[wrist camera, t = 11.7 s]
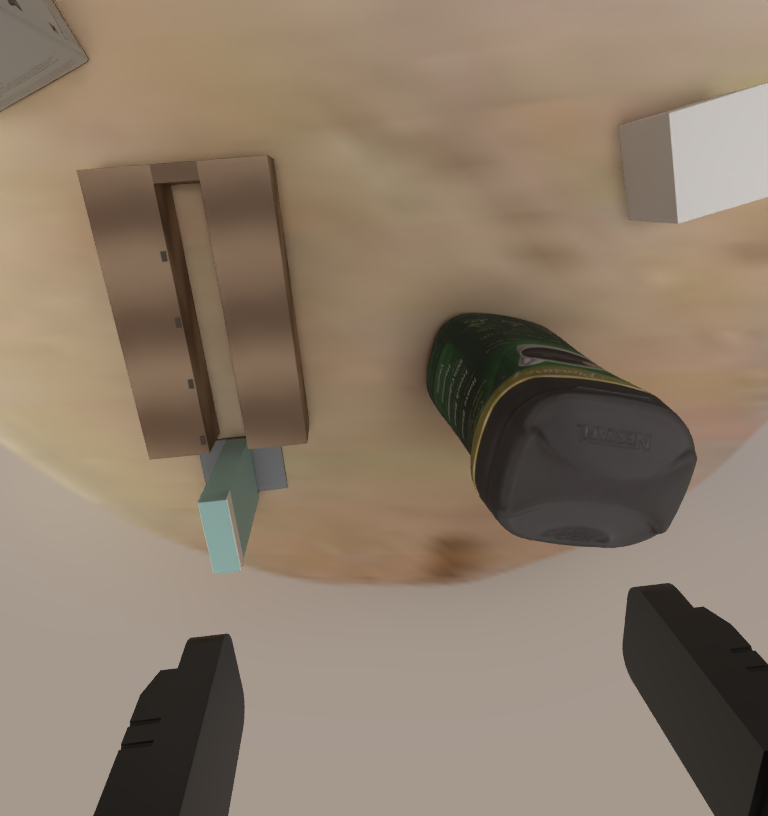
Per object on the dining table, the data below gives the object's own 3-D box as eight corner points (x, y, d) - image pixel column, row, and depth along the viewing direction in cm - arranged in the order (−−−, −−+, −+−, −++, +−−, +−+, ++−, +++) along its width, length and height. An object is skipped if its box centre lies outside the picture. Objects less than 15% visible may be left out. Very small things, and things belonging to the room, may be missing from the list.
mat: (197, 441, 41) (197, 442, 41) (279, 433, 42) (278, 434, 41) (209, 495, 43) (208, 496, 43) (287, 486, 43) (287, 487, 43)
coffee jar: (416, 408, 42) (473, 557, 24) (438, 302, 39) (520, 387, 22) (538, 425, 43) (675, 578, 26) (568, 324, 40) (742, 420, 23)
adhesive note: (627, 220, 38) (677, 224, 33) (616, 126, 36) (668, 113, 30) (713, 194, 38) (778, 193, 32) (707, 98, 36) (776, 79, 30)
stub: (225, 440, 41) (197, 503, 32) (248, 437, 41) (226, 499, 32) (237, 499, 43) (213, 574, 34) (259, 497, 43) (241, 570, 34)
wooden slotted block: (101, 172, 34) (75, 169, 31) (273, 159, 35) (267, 155, 32) (164, 438, 41) (149, 460, 38) (309, 423, 41) (307, 443, 38)
